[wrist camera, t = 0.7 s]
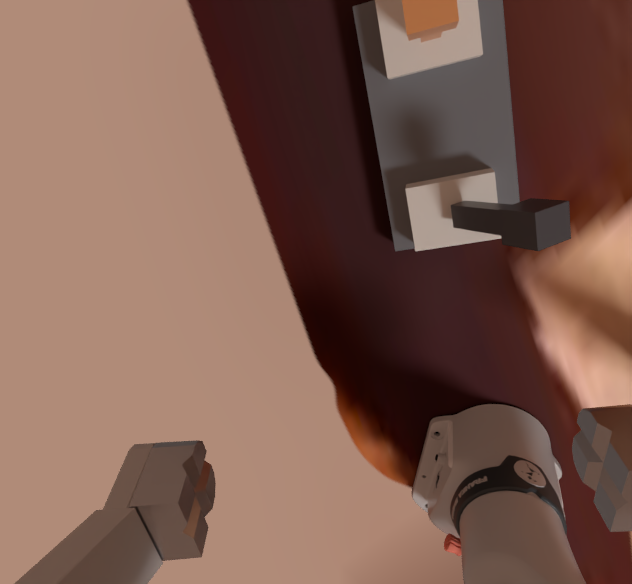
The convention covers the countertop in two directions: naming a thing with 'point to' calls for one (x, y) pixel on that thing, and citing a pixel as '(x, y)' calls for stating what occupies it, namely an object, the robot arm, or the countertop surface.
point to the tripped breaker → (429, 18)
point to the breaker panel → (439, 118)
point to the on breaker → (517, 221)
